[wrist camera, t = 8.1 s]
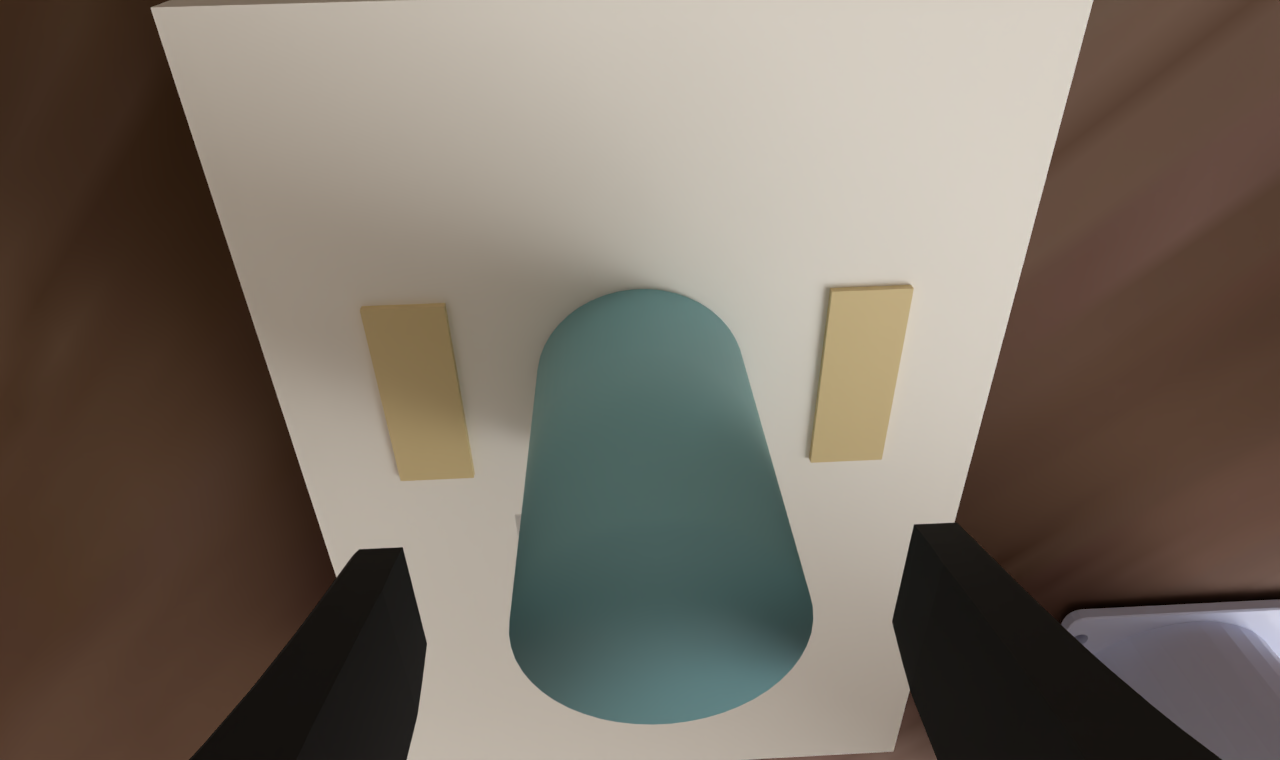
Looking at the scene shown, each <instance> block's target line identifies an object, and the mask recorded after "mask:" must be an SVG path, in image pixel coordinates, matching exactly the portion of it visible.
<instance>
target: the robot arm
mask: <svg viewBox="0 0 1280 760" xmlns="http://www.w3.org/2000/svg"><path fill="white" fill-rule="evenodd" d="M892 624H893V628H894V632H895V636H896V640H897V644H898V648H899V651H900V655H901V659H902V663H903V666H904V670H905V674H906V677H907V681H908V684H909V688H910V691H911V694H912V696H913V699H914V702H915V704H916V707H917V709H918V712H919V714H920V717H921V720H922V722H923V725H924V727H925V730H926V732H927V735H928V737H929V740H930V742H931V745H932V747H933V750H934V752H935V755H936V757H937V760H1280V599H1275V600H1255V601H1235V602H1215V603H1195V604H1175V605H1155V606H1136V607H1116V608H1096V609H1080V610H1075V611H1073V612H1071V613H1069V614H1068V615H1066V617H1065V618H1064V619H1063V621H1062V624H1060V623H1059V622H1058V621H1057V620H1055V619H1054V618H1053V617H1052V616H1051V615H1050V614H1049V613H1048V612H1047V611H1046V610H1045V609H1044V608H1043V607H1042V606H1041V605H1040V604H1039V603H1038V602H1037V601H1036V600H1035V599H1033V598H1032V597H1031V596H1030V595H1029V594H1028V593H1027V592H1026V591H1025V590H1024V589H1023V588H1022V587H1021V586H1020V585H1019V584H1018V583H1017V582H1016V581H1015V580H1014V579H1013V578H1012V577H1011V576H1010V575H1009V574H1008V573H1007V572H1006V571H1005V570H1004V569H1003V568H1002V567H1001V566H1000V565H999V564H998V563H997V562H996V561H995V560H994V559H993V558H992V557H991V556H990V555H989V554H988V553H987V552H986V551H985V550H984V549H983V548H982V547H981V546H980V545H979V544H978V543H977V542H976V541H975V540H974V539H973V538H972V537H971V536H970V535H969V534H968V533H967V532H966V531H965V530H964V529H963V528H962V527H961V526H960V525H959V524H958V523H935V524H914V526H913V531H912V535H911V540H910V544H909V548H908V553H907V557H906V562H905V566H904V570H903V575H902V579H901V584H900V588H899V593H898V597H897V601H896V606H895V610H894V615H893V619H892ZM426 648H427V641H426V637H425V634H424V630H423V626H422V622H421V618H420V614H419V610H418V606H417V602H416V598H415V594H414V590H413V586H412V582H411V578H410V574H409V570H408V566H407V562H406V558H405V554H404V550H403V547H397V548H375V549H359V550H358V551H357V552H356V553H355V554H354V555H353V556H352V557H351V558H350V560H349V561H348V563H347V564H346V565H345V567H344V568H343V569H342V571H341V572H340V574H339V575H338V576H337V578H336V579H335V580H334V582H333V583H332V585H331V586H330V587H329V589H328V590H327V592H326V593H325V594H324V596H323V597H322V598H321V600H320V601H319V602H318V604H317V605H316V606H315V608H314V609H313V610H312V612H311V613H310V614H309V616H308V617H307V618H306V620H305V621H304V622H303V624H302V625H301V626H300V628H299V629H298V630H297V632H296V633H295V634H294V636H293V637H292V638H291V639H290V641H289V642H288V643H287V645H286V646H285V647H284V648H283V650H282V651H281V652H280V653H279V655H278V656H277V657H276V658H275V660H274V661H273V662H272V663H271V665H270V666H269V667H268V669H267V670H266V671H265V672H264V674H263V675H262V676H261V677H260V679H259V680H258V681H257V682H256V684H255V685H254V686H253V687H252V688H251V690H250V691H249V692H248V693H247V694H246V696H245V697H244V698H243V699H242V700H241V701H240V703H239V704H238V705H237V706H236V707H235V708H234V709H233V711H232V712H231V713H230V714H229V715H228V716H227V718H226V719H225V720H224V721H223V722H222V723H221V725H220V726H219V727H218V728H217V729H216V730H215V731H214V733H213V734H212V735H211V736H210V737H209V738H208V740H207V741H206V742H205V743H204V744H203V745H202V746H201V747H200V749H199V750H198V751H197V752H196V753H195V754H194V755H193V756H192V757H191V758H190V759H189V760H407V756H408V752H409V748H410V744H411V740H412V736H413V732H414V728H415V724H416V720H417V715H418V709H419V702H420V695H421V688H422V681H423V673H424V665H425V656H426Z"/></svg>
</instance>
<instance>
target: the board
mask: <svg viewBox="0 0 1280 760" xmlns="http://www.w3.org/2000/svg"><path fill="white" fill-rule="evenodd" d="M1092 3H1093V0H169V1H167V2H164V3H161V4H159V5H156V6H153V7H150V8H151V11H152V14H153V17H154V20H155V23H156V27H157V30H158V33H159V36H160V39H161V42H162V45H163V48H164V51H165V54H166V57H167V60H168V63H169V66H170V69H171V72H172V76H173V79H174V82H175V85H176V88H177V91H178V94H179V97H180V100H181V103H182V106H183V109H184V112H185V115H186V118H187V121H188V125H189V128H190V131H191V134H192V137H193V140H194V143H195V146H196V149H197V152H198V155H199V158H200V161H201V164H202V167H203V170H204V174H205V177H206V180H207V183H208V186H209V189H210V192H211V195H212V198H213V201H214V204H215V207H216V210H217V213H218V216H219V219H220V223H221V226H222V229H223V232H224V235H225V238H226V241H227V244H228V247H229V250H230V253H231V256H232V259H233V262H234V265H235V268H236V272H237V275H238V278H239V281H240V284H241V287H242V290H243V293H244V296H245V299H246V302H247V305H248V308H249V311H250V314H251V317H252V321H253V324H254V327H255V330H256V333H257V336H258V339H259V342H260V345H261V348H262V351H263V354H264V357H265V360H266V363H267V366H268V370H269V373H270V376H271V379H272V382H273V385H274V388H275V391H276V394H277V397H278V400H279V403H280V406H281V409H282V412H283V415H284V419H285V422H286V425H287V428H288V431H289V434H290V437H291V440H292V443H293V446H294V449H295V452H296V455H297V458H298V461H299V464H300V468H301V471H302V474H303V477H304V480H305V483H306V486H307V489H308V492H309V495H310V498H311V501H312V504H313V507H314V510H315V513H316V517H317V520H318V523H319V526H320V529H321V532H322V535H323V538H324V541H325V544H326V547H327V550H328V553H329V556H330V559H331V562H332V566H333V569H334V572H335V575H336V578H337V576H338V575H339V574H340V572H341V571H342V569H343V568H344V567H345V565H346V564H347V563H348V561H349V560H350V558H351V557H352V556H353V555H354V554H355V553H356V552H357V551H358V550H359V549H375V548H397V547H403V550H404V554H405V558H406V562H407V566H408V570H409V574H410V578H411V582H412V586H413V590H414V594H415V598H416V602H417V606H418V610H419V614H420V618H421V622H422V626H423V630H424V634H425V637H426V641H427V648H426V656H425V665H424V673H423V681H422V688H421V695H420V702H419V709H418V715H417V720H416V724H415V728H414V732H413V736H412V740H411V744H410V748H409V752H408V756H407V760H748V759H766V758H785V757H803V756H821V755H840V754H858V753H876V752H893V751H894V748H895V744H896V740H897V736H898V733H899V729H900V725H901V721H902V718H903V714H904V710H905V706H906V703H907V699H908V695H909V691H910V688H909V684H908V681H907V677H906V674H905V670H904V666H903V663H902V659H901V655H900V651H899V648H898V644H897V640H896V636H895V632H894V628H893V624H892V619H893V615H894V610H895V606H896V601H897V597H898V593H899V588H900V584H901V579H902V575H903V570H904V566H905V562H906V557H907V553H908V548H909V544H910V540H911V535H912V531H913V526H914V524H935V523H954V522H955V518H956V515H957V511H958V507H959V503H960V499H961V496H962V492H963V488H964V484H965V481H966V477H967V473H968V469H969V466H970V462H971V458H972V454H973V451H974V447H975V443H976V439H977V436H978V432H979V428H980V424H981V420H982V417H983V413H984V409H985V405H986V402H987V398H988V394H989V390H990V387H991V383H992V379H993V375H994V372H995V368H996V364H997V360H998V357H999V353H1000V349H1001V345H1002V342H1003V338H1004V334H1005V330H1006V326H1007V323H1008V319H1009V315H1010V311H1011V308H1012V304H1013V300H1014V296H1015V293H1016V289H1017V285H1018V281H1019V278H1020V274H1021V270H1022V266H1023V263H1024V259H1025V255H1026V251H1027V248H1028V244H1029V240H1030V236H1031V232H1032V229H1033V225H1034V221H1035V217H1036V214H1037V210H1038V206H1039V202H1040V199H1041V195H1042V191H1043V187H1044V184H1045V180H1046V176H1047V172H1048V169H1049V165H1050V161H1051V157H1052V153H1053V150H1054V146H1055V142H1056V138H1057V135H1058V131H1059V127H1060V123H1061V120H1062V116H1063V112H1064V108H1065V105H1066V101H1067V97H1068V93H1069V90H1070V86H1071V82H1072V78H1073V75H1074V71H1075V67H1076V63H1077V59H1078V56H1079V52H1080V48H1081V44H1082V41H1083V37H1084V33H1085V29H1086V26H1087V22H1088V18H1089V14H1090V11H1091V7H1092ZM632 289H653V290H663V291H668V292H673V293H676V294H679V295H682V296H685V297H688V298H690V299H692V300H694V301H697V302H699V303H701V304H702V305H704V306H705V307H707V308H708V309H710V310H711V311H712V312H714V313H715V314H716V315H717V316H718V317H719V318H720V319H721V320H722V321H723V322H724V323H725V324H726V325H727V327H728V328H729V329H730V331H731V332H732V334H733V335H734V337H735V339H736V341H737V343H738V346H739V348H740V351H741V354H742V358H743V361H744V365H745V368H746V372H747V375H748V379H749V382H750V386H751V389H752V393H753V396H754V400H755V403H756V407H757V410H758V414H759V417H760V421H761V425H762V428H763V432H764V435H765V439H766V442H767V446H768V449H769V453H770V456H771V460H772V463H773V467H774V470H775V474H776V477H777V481H778V484H779V488H780V491H781V495H782V498H783V502H784V505H785V509H786V512H787V516H788V519H789V523H790V526H791V530H792V533H793V537H794V540H795V544H796V547H797V551H798V555H799V558H800V562H801V565H802V569H803V572H804V576H805V579H806V583H807V586H808V590H809V593H810V597H811V601H812V605H813V625H812V632H811V635H810V638H809V641H808V644H807V646H806V648H805V650H804V652H803V654H802V656H801V657H800V659H799V660H798V662H797V663H796V664H795V665H794V667H793V668H792V669H791V670H790V671H789V672H788V673H787V674H786V675H785V676H784V677H783V678H782V679H781V680H780V681H779V682H778V683H777V684H775V685H774V686H773V687H772V688H770V689H769V690H768V691H766V692H765V693H763V694H761V695H760V696H758V697H757V698H755V699H753V700H751V701H749V702H747V703H745V704H743V705H741V706H739V707H736V708H734V709H731V710H729V711H726V712H724V713H721V714H717V715H714V716H710V717H707V718H703V719H698V720H693V721H688V722H680V723H673V724H655V725H649V724H630V723H621V722H614V721H609V720H604V719H599V718H596V717H593V716H589V715H586V714H583V713H580V712H578V711H575V710H573V709H570V708H568V707H566V706H564V705H562V704H560V703H558V702H557V701H555V700H553V699H552V698H550V697H549V696H547V695H546V694H545V693H543V692H542V691H541V690H540V689H538V688H537V687H536V686H535V685H534V684H533V683H532V682H531V681H530V680H529V679H528V678H527V676H526V675H525V674H524V673H523V672H522V670H521V668H520V666H519V665H518V663H517V661H516V660H515V657H514V654H513V651H512V649H511V644H510V638H509V620H510V611H511V602H512V593H513V584H514V575H515V566H516V557H517V548H518V539H519V530H520V521H521V512H522V504H523V495H524V486H525V477H526V468H527V459H528V450H529V441H530V432H531V423H532V414H533V405H534V396H535V387H536V378H537V370H538V364H539V360H540V356H541V353H542V351H543V348H544V346H545V344H546V342H547V340H548V338H549V337H550V335H551V334H552V332H553V331H554V330H555V329H556V327H557V326H558V325H559V324H560V323H561V322H562V321H563V320H564V319H565V318H566V317H567V316H568V315H569V314H571V313H572V312H573V311H575V310H576V309H577V308H579V307H581V306H582V305H584V304H586V303H588V302H590V301H592V300H594V299H596V298H599V297H601V296H604V295H607V294H611V293H615V292H619V291H625V290H632Z"/></svg>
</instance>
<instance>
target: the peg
mask: <svg viewBox="0 0 1280 760" xmlns="http://www.w3.org/2000/svg"><path fill="white" fill-rule="evenodd" d="M812 625H813V605H812V601H811V597H810V593H809V590H808V586H807V583H806V579H805V576H804V572H803V569H802V565H801V562H800V558H799V555H798V551H797V547H796V544H795V540H794V537H793V533H792V530H791V526H790V523H789V519H788V516H787V512H786V509H785V505H784V502H783V498H782V495H781V491H780V488H779V484H778V481H777V477H776V474H775V470H774V467H773V463H772V460H771V456H770V453H769V449H768V446H767V442H766V439H765V435H764V432H763V428H762V425H761V421H760V417H759V414H758V410H757V407H756V403H755V400H754V396H753V393H752V389H751V386H750V382H749V379H748V375H747V372H746V368H745V365H744V361H743V358H742V354H741V351H740V348H739V346H738V343H737V341H736V339H735V337H734V335H733V334H732V332H731V331H730V329H729V328H728V327H727V325H726V324H725V323H724V322H723V321H722V320H721V319H720V318H719V317H718V316H717V315H716V314H715V313H714V312H712V311H711V310H710V309H708V308H707V307H705V306H704V305H702V304H701V303H699V302H697V301H694V300H692V299H690V298H688V297H685V296H682V295H679V294H676V293H673V292H668V291H663V290H653V289H632V290H625V291H619V292H615V293H611V294H607V295H604V296H601V297H599V298H596V299H594V300H592V301H590V302H588V303H586V304H584V305H582V306H581V307H579V308H577V309H576V310H575V311H573V312H572V313H571V314H569V315H568V316H567V317H566V318H565V319H564V320H563V321H562V322H561V323H560V324H559V325H558V326H557V327H556V329H555V330H554V331H553V332H552V334H551V335H550V337H549V338H548V340H547V342H546V344H545V346H544V348H543V351H542V353H541V356H540V360H539V364H538V370H537V378H536V387H535V396H534V405H533V414H532V423H531V432H530V441H529V450H528V459H527V468H526V477H525V486H524V495H523V504H522V512H521V521H520V530H519V539H518V548H517V557H516V566H515V575H514V584H513V593H512V602H511V611H510V620H509V638H510V644H511V649H512V651H513V654H514V657H515V660H516V661H517V663H518V665H519V666H520V668H521V670H522V672H523V673H524V674H525V675H526V676H527V678H528V679H529V680H530V681H531V682H532V683H533V684H534V685H535V686H536V687H537V688H538V689H540V690H541V691H542V692H543V693H545V694H546V695H547V696H549V697H550V698H552V699H553V700H555V701H557V702H558V703H560V704H562V705H564V706H566V707H568V708H570V709H573V710H575V711H578V712H580V713H583V714H586V715H589V716H593V717H596V718H599V719H604V720H609V721H614V722H621V723H630V724H649V725H655V724H673V723H680V722H688V721H693V720H698V719H703V718H707V717H710V716H714V715H717V714H721V713H724V712H726V711H729V710H731V709H734V708H736V707H739V706H741V705H743V704H745V703H747V702H749V701H751V700H753V699H755V698H757V697H758V696H760V695H761V694H763V693H765V692H766V691H768V690H769V689H770V688H772V687H773V686H774V685H775V684H777V683H778V682H779V681H780V680H781V679H782V678H783V677H784V676H785V675H786V674H787V673H788V672H789V671H790V670H791V669H792V668H793V667H794V665H795V664H796V663H797V662H798V660H799V659H800V657H801V656H802V654H803V652H804V650H805V648H806V646H807V644H808V641H809V638H810V635H811V632H812Z"/></svg>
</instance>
